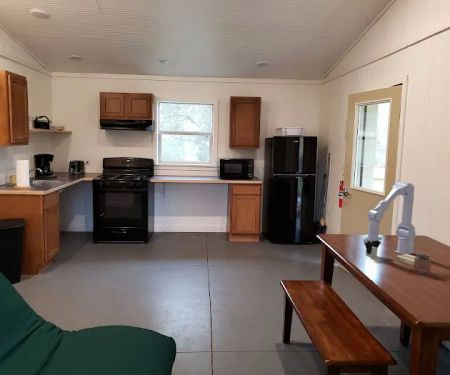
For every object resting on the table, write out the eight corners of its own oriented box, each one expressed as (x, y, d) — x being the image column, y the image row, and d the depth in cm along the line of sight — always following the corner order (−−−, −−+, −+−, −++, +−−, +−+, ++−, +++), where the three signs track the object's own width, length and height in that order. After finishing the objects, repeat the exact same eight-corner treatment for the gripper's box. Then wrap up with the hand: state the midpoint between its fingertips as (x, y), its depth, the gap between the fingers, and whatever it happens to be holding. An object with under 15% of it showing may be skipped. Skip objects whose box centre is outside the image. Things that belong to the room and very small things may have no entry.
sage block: (370, 254, 231) (371, 246, 230) (376, 256, 227) (377, 247, 227) (365, 255, 228) (366, 246, 228) (372, 257, 225) (372, 248, 224)
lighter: (429, 272, 202) (431, 254, 201) (430, 275, 199) (432, 256, 198) (412, 270, 205) (414, 252, 203) (413, 272, 202) (415, 253, 200)
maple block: (405, 258, 227) (406, 253, 227) (422, 263, 219) (422, 258, 218) (395, 261, 221) (396, 256, 221) (412, 266, 213) (413, 261, 213)
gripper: (375, 228, 233) (373, 250, 235) (360, 230, 225) (357, 252, 227) (385, 230, 227) (383, 253, 229) (370, 233, 219) (368, 256, 221)
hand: (371, 253), depth 228 cm, fingers closed on sage block, 4 cm apart
